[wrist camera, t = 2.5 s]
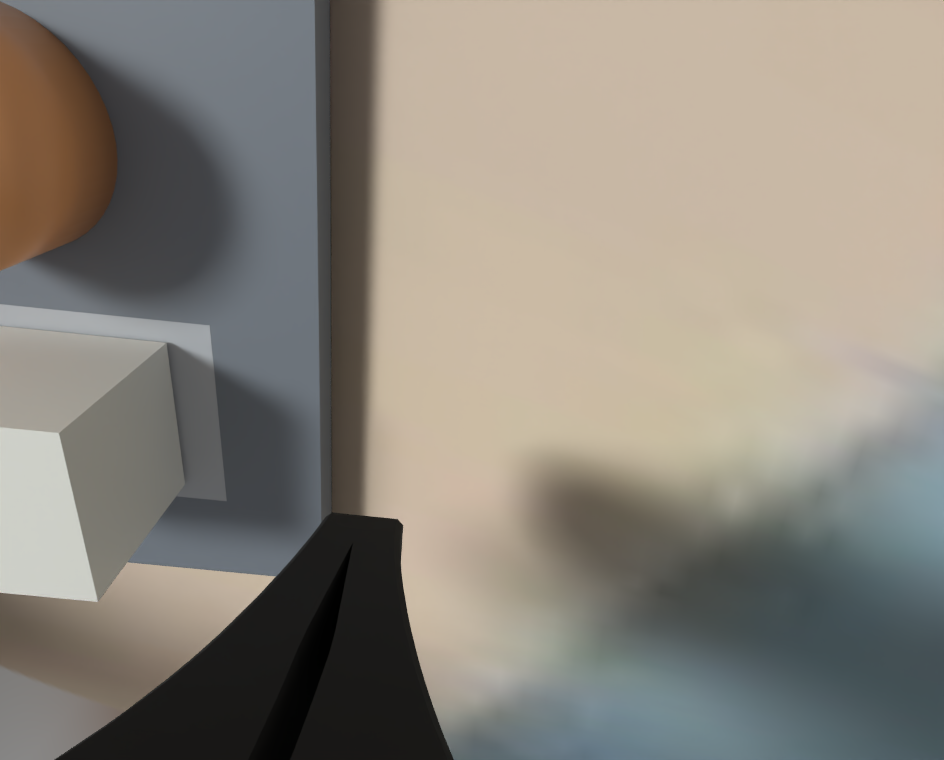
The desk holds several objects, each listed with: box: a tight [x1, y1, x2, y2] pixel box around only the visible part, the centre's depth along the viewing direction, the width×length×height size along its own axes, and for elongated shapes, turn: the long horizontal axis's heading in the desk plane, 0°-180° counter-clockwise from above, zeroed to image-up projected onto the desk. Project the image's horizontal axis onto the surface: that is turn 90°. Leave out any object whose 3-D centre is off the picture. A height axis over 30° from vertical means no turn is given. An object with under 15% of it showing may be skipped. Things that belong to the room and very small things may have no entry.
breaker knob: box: [0, 326, 185, 602], centre depth 13 cm, size 4×4×4 cm
